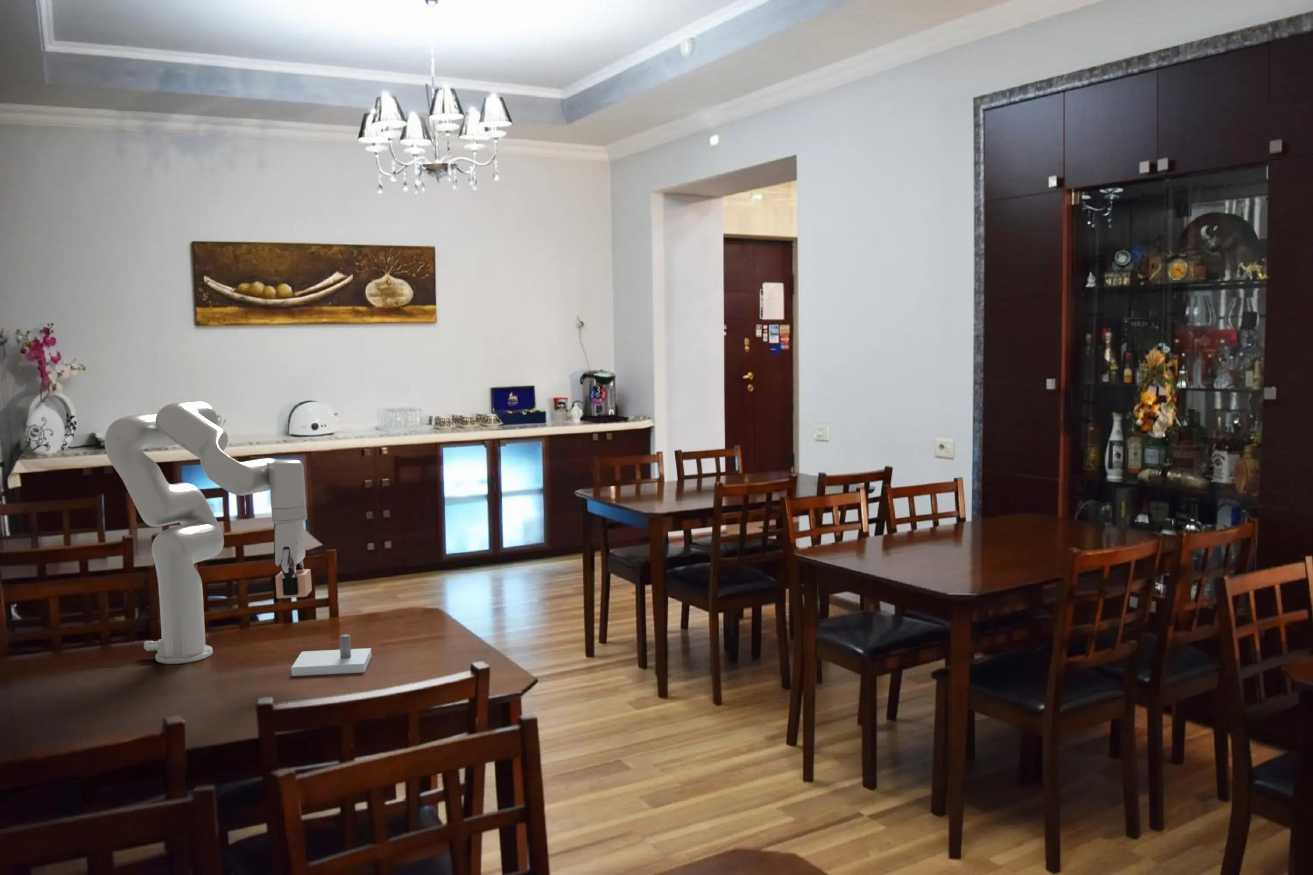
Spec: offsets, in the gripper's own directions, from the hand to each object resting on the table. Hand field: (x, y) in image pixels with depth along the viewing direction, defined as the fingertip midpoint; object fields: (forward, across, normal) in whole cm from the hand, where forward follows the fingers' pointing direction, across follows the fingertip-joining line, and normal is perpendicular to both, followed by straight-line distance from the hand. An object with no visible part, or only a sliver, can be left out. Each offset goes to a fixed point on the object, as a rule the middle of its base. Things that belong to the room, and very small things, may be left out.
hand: (294, 590), depth 238 cm
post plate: (+18, -1, +7) cm, 20 cm away
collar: (+1, 0, 0) cm, 1 cm away
